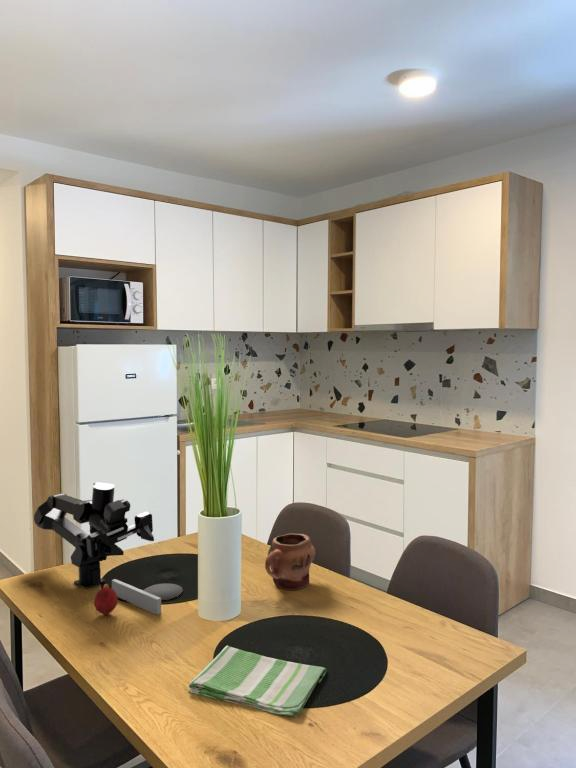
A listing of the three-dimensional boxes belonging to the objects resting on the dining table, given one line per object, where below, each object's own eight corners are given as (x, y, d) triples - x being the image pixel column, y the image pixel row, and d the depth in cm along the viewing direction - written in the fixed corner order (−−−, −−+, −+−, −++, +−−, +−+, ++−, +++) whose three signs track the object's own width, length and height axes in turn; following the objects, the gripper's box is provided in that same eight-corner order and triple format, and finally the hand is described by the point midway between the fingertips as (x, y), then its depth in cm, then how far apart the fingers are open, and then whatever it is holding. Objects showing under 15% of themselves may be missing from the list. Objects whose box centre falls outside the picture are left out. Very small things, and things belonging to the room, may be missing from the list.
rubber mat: (134, 594, 167) (134, 592, 167) (165, 582, 176) (165, 580, 176) (159, 604, 160) (159, 602, 160) (190, 591, 169) (190, 590, 169)
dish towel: (297, 723, 111) (297, 709, 111) (185, 696, 119) (185, 683, 119) (326, 674, 127) (326, 661, 127) (227, 653, 136) (227, 641, 136)
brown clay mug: (287, 603, 161) (287, 552, 160) (250, 593, 168) (250, 544, 167) (324, 579, 178) (324, 532, 177) (289, 571, 184) (289, 526, 184)
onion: (113, 620, 151) (113, 589, 151) (91, 620, 152) (90, 588, 151) (120, 610, 157) (120, 580, 157) (98, 610, 157) (98, 579, 157)
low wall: (111, 594, 167) (111, 580, 167) (115, 593, 168) (115, 578, 168) (157, 614, 154) (157, 599, 154) (161, 613, 155) (160, 598, 155)
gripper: (72, 509, 159) (104, 532, 148) (134, 486, 172) (167, 506, 161) (76, 546, 162) (107, 571, 152) (136, 521, 175) (168, 542, 165)
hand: (138, 546), depth 157 cm, fingers open, 9 cm apart
